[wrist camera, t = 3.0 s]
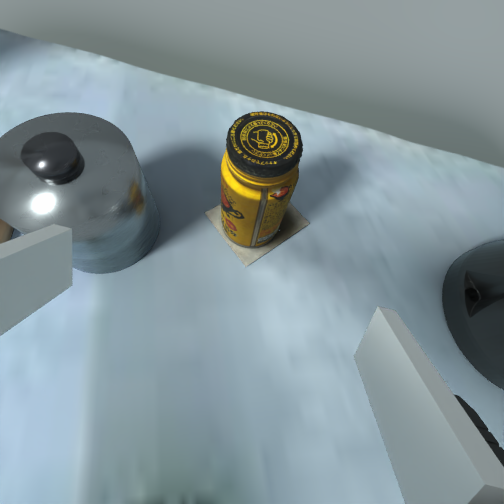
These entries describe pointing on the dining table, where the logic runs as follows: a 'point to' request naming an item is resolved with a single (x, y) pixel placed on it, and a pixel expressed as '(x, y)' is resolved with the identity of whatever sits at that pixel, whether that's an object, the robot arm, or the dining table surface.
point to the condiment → (258, 185)
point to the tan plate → (5, 231)
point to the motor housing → (79, 188)
